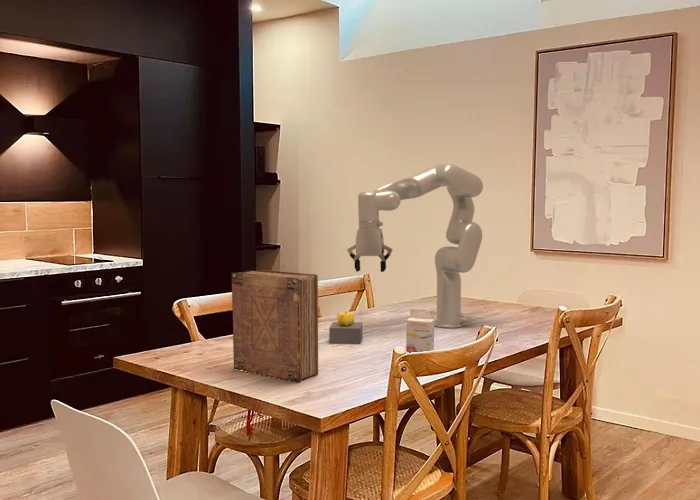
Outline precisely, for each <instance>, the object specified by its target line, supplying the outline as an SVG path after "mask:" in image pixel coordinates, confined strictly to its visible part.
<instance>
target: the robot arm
mask: <svg viewBox="0 0 700 500" xmlns="http://www.w3.org/2000/svg"><path fill="white" fill-rule="evenodd" d="M442 187H446V188H447V193H448V194H449V196H450V198H451V200H452V203H453V208H452V213H451V215H450V220H449V222H448V225H447V229H446V232H445V238H446V240H447V241H448V242H449V243H450V244H453V245H457V247H456V246H448V245H447V246H442V247H440V248H438V249H437V251H436V252H435V255H434V266H435V270H436V319H434V327H437V328H441V329H442V328H443V329H445V328H446V329H457V328H462V327H464V326H465V323H472V317H469V316H463V313H462V312H461V311H462V309H461V308H462V278H461V275H460V274H462V273H463V274H464V273H465V274H466V273H468V272H470V271H471V270H472V268H474V266H475V263H476V260H477V257H478V255H479V251H480V247H481V244H482V240H483V231H482V230H483V229H482V228H481V225H479V224H478V223H476V222H474V220H473V219H474V214H475V204H474V200H473V199H472V198H476V197H478V196H480V195H481V193H482V192H483V190H484V184H483V181H482V179H481V178H480V177H479V176H478V175H476V174H474V173H472V172H470V171H468V170H466V169H464V168H462V167H460V166H458V165H455V164H452V163H448V164H447V163H446V164H445V163H444V164H435V165H433V166H430V167H429V168H425V169H424V170H422V171H420V172H417V173H416V174H415V173H414V174H413V175H411V176H407V177H405V178H402V179H399V180H396V181H394V182H391V183H388V184H386V185H384V186H382V187H379V188H377V189H375V190H373V191H363V192H359V193H358V195H357V204H358V205H357V207H358V211H357V213H358V229H357V231H356V237H355V244H354V245H352V246H351V247H349V248H347V249H346V250H347V252H348V254H349V257H351V259H353V261H354V269H355V271H356V273H357V272H360V271H361V260H360V259H361V257H378V258H379V259H380V260H381V261H380V264H379V265H380V272H381V273H383V272H385V271H386V269H387V260H388V258H390V257H391V254H392V252H393V248H392V247H391V246H388V245H386V244H385V241H384V234H383V230H382V228H381V226H382V227H383V226H384V222H383V221H380V213H379V212H380V211H383V212H384V211H385V212H393V211H394V210H396V209H397V208H399V206H401V205H400V204H401V201H404V200H411V199H416V198H420V197H422V196H425V195H426V194H428V193H430V192H432V191H435V190H438V189H439V188H442ZM353 250H355V253H354V252H353ZM385 251H387V252H386V254H385Z"/></svg>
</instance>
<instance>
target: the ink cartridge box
mask: <svg viewBox="0 0 700 500" xmlns="http://www.w3.org/2000/svg"><path fill="white" fill-rule="evenodd" d="M409 313H410V317H409V318H408V319H407V320H406V333H405V334H406V338H405V339H406V344H405V348H406V349H405V351H407V352H409V353H411V352H423V351H431V350H435V326H434V321H435V317H434V316H435V315H434V314H435V311H434V310H433V309H421V308H410V312H409ZM420 313H423V314H420Z"/></svg>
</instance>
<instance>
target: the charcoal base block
mask: <svg viewBox="0 0 700 500" xmlns="http://www.w3.org/2000/svg"><path fill="white" fill-rule="evenodd" d="M328 333H329V334H328V335H329V341H328V342H329V345H361V344H362V341H363V322H361V321H359V322H358V321H357V322H356V321H354V323H353V324H352V325H348V327H346V326H345V325H342V326H340V324H338V321H332V323H331V325H330V327H329V332H328Z"/></svg>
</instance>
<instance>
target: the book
mask: <svg viewBox="0 0 700 500" xmlns="http://www.w3.org/2000/svg"><path fill="white" fill-rule="evenodd" d="M318 279H319V275H318V274H316V273H303V272H292V271H291V272H290V271H280V270H269V269H268V270H266V269H265V270H264V269H255V268H254V269H253V268H252V269H246V270H241V271H239V270H238V271H234V272H232V273H231V302H232V343H233V347H232V349H233V351H232V352H233V370H234V369H238V370H243V371H247V372H246V373H248V372H251V373H250V374H253V373H256V374H255V375H258V374H261V375H260V376H263V375H265V377H268V376H270V377H269V378H273V377H275V378H274V379H278V378H280V379H279V380H283V379H285V380H284V381H288V380H290V381H289V382H293V381H294V383H301V382H302V380H303V379H306V378H309V377H311V376H318V375H319V282H318V281H319V280H318ZM243 371H242V372H243Z"/></svg>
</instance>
